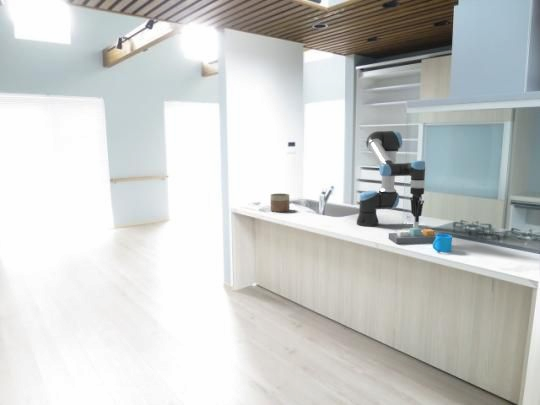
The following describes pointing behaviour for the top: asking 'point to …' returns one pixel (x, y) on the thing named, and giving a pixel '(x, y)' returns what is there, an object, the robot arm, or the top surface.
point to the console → (412, 238)
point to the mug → (443, 243)
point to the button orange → (428, 232)
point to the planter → (280, 202)
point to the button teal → (415, 231)
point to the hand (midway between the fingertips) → (415, 226)
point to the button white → (402, 233)
